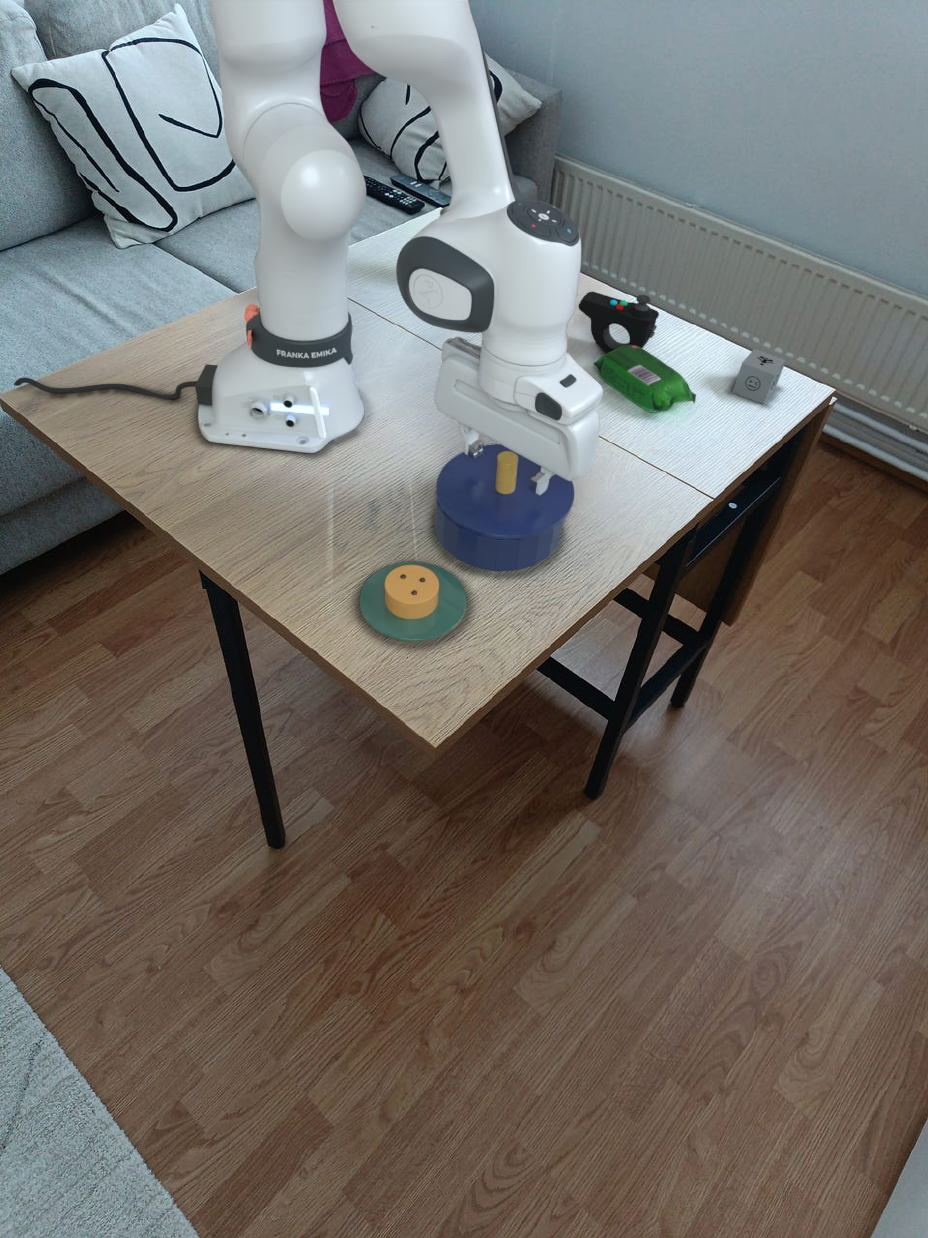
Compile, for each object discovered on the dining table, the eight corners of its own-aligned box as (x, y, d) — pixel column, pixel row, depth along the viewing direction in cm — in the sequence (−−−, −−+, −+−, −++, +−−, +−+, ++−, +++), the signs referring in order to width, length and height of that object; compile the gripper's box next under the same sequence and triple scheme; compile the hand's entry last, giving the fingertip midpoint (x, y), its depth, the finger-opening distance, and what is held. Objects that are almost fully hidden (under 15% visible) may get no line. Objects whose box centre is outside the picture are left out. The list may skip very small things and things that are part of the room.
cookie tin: (439, 576, 102) (441, 541, 98) (430, 490, 112) (431, 456, 108) (568, 572, 103) (575, 538, 99) (548, 489, 114) (554, 454, 110)
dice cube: (775, 389, 133) (786, 360, 129) (763, 404, 130) (774, 374, 126) (744, 377, 135) (754, 348, 131) (732, 392, 132) (742, 362, 128)
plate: (360, 646, 94) (360, 641, 93) (359, 567, 102) (359, 562, 101) (471, 642, 95) (471, 637, 95) (461, 565, 103) (461, 560, 103)
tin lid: (442, 547, 98) (443, 510, 94) (430, 454, 109) (430, 417, 104) (585, 539, 100) (592, 501, 95) (559, 448, 110) (565, 411, 106)
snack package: (658, 429, 124) (667, 398, 120) (587, 375, 132) (593, 344, 128) (693, 415, 127) (703, 384, 123) (621, 363, 135) (628, 332, 131)
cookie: (385, 620, 96) (385, 602, 94) (383, 581, 100) (383, 563, 98) (440, 618, 96) (441, 601, 94) (436, 580, 100) (437, 562, 98)
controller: (641, 369, 134) (655, 309, 127) (569, 345, 138) (579, 284, 130) (651, 357, 137) (666, 297, 129) (580, 333, 140) (590, 273, 133)
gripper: (426, 340, 94) (419, 445, 104) (584, 420, 86) (560, 525, 97) (462, 320, 97) (453, 423, 108) (617, 394, 90) (591, 498, 100)
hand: (505, 472), depth 102 cm, fingers open, 8 cm apart
